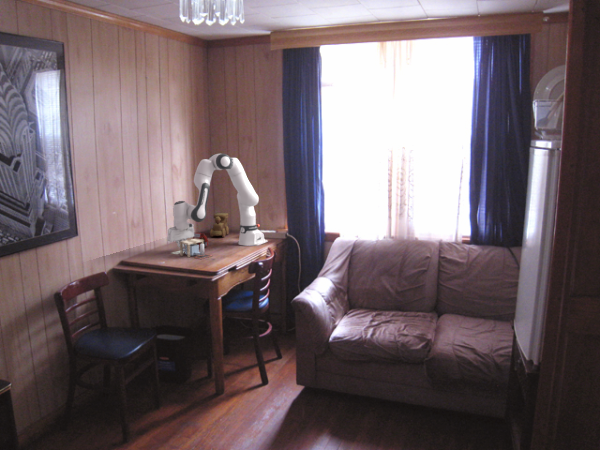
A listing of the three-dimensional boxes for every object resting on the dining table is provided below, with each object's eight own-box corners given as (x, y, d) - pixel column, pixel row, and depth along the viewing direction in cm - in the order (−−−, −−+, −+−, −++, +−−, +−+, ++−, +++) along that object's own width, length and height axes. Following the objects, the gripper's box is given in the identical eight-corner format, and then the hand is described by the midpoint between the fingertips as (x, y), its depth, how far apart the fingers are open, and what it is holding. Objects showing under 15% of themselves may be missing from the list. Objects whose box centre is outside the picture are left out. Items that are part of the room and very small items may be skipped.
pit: (205, 255, 328) (205, 254, 328) (212, 256, 325) (212, 255, 325) (194, 258, 320) (194, 257, 320) (200, 259, 317) (200, 258, 317)
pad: (182, 250, 342) (182, 250, 342) (188, 251, 338) (188, 251, 338) (170, 253, 334) (170, 252, 334) (176, 254, 330) (176, 254, 330)
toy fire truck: (205, 249, 346) (204, 234, 344) (190, 247, 350) (189, 233, 349) (210, 247, 352) (210, 232, 350) (195, 245, 357) (195, 231, 355)
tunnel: (195, 252, 336) (195, 238, 334) (203, 253, 332) (203, 239, 330) (180, 255, 326) (179, 241, 324) (188, 257, 321) (188, 243, 320)
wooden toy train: (216, 233, 402) (215, 212, 399) (230, 233, 400) (229, 213, 397) (209, 238, 382) (208, 216, 379) (223, 238, 381) (223, 217, 378)
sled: (183, 250, 338) (183, 239, 336) (207, 255, 325) (206, 243, 323) (176, 252, 333) (176, 240, 332) (200, 257, 320) (199, 245, 318)
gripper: (171, 228, 321) (172, 249, 324) (195, 224, 338) (196, 244, 340) (164, 227, 325) (165, 248, 327) (189, 223, 341) (189, 242, 344)
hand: (181, 246), depth 334 cm, fingers closed on sled, 3 cm apart
